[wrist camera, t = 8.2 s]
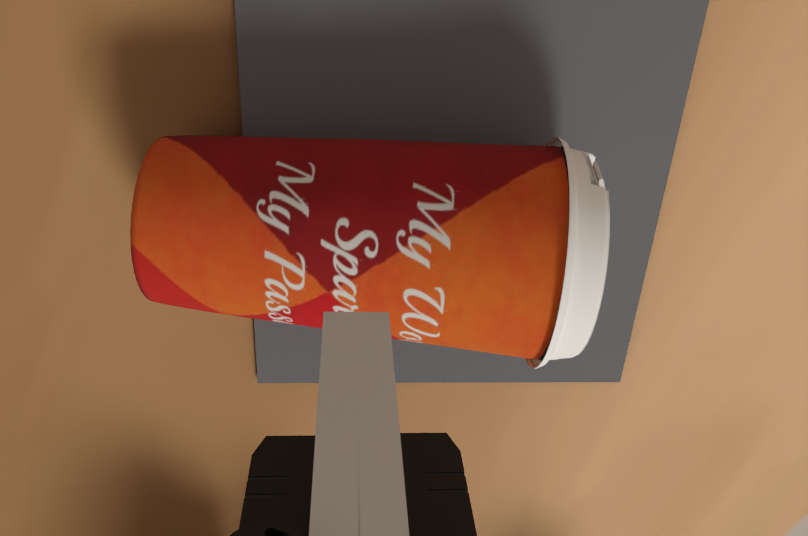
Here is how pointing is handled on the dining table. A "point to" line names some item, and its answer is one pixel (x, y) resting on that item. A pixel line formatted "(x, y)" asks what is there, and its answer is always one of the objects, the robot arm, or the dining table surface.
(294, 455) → the robot arm
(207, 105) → the dining table surface
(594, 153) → the mat
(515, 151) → the paper cup
